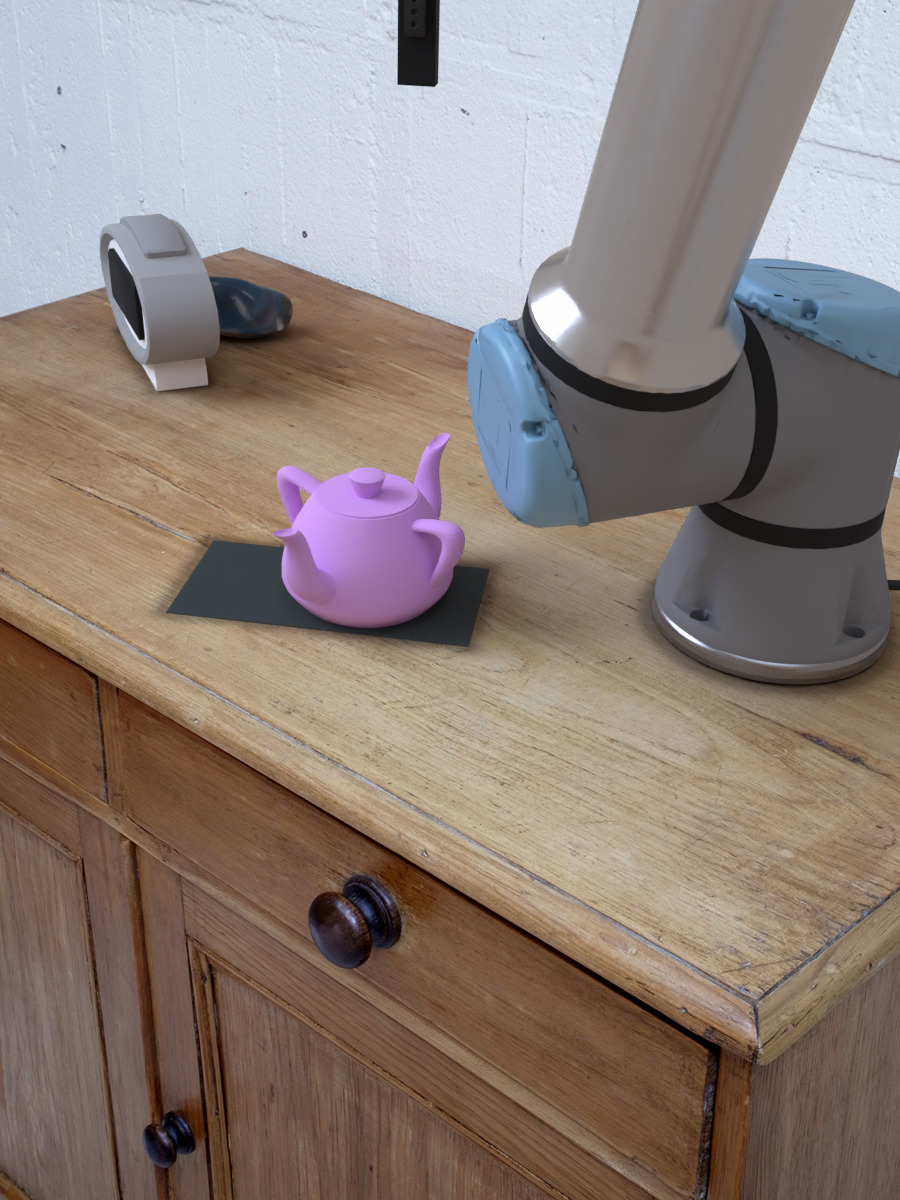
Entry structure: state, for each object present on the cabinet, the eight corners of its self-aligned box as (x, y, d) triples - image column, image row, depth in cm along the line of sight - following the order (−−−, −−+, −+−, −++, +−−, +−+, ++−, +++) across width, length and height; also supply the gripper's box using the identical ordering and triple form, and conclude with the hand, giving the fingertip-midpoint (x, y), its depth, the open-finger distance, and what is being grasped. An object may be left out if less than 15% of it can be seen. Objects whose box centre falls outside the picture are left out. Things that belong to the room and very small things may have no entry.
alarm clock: (106, 320, 133) (91, 191, 126) (167, 313, 135) (156, 187, 128) (154, 406, 114) (140, 261, 108) (224, 397, 117) (214, 255, 110)
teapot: (445, 541, 95) (449, 428, 90) (467, 647, 83) (472, 523, 79) (279, 545, 94) (275, 431, 89) (278, 653, 82) (272, 528, 78)
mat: (489, 571, 92) (489, 568, 92) (468, 649, 84) (468, 646, 83) (213, 542, 94) (213, 539, 94) (166, 615, 86) (166, 612, 86)
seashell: (306, 312, 128) (260, 235, 131) (220, 338, 124) (175, 259, 127) (298, 351, 133) (254, 277, 136) (215, 377, 129) (172, 300, 132)
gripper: (385, -310, 88) (384, 65, 100) (340, -326, 77) (346, 98, 89) (496, -307, 87) (482, 71, 99) (467, -324, 76) (455, 104, 88)
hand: (417, 83), depth 94 cm, fingers closed
